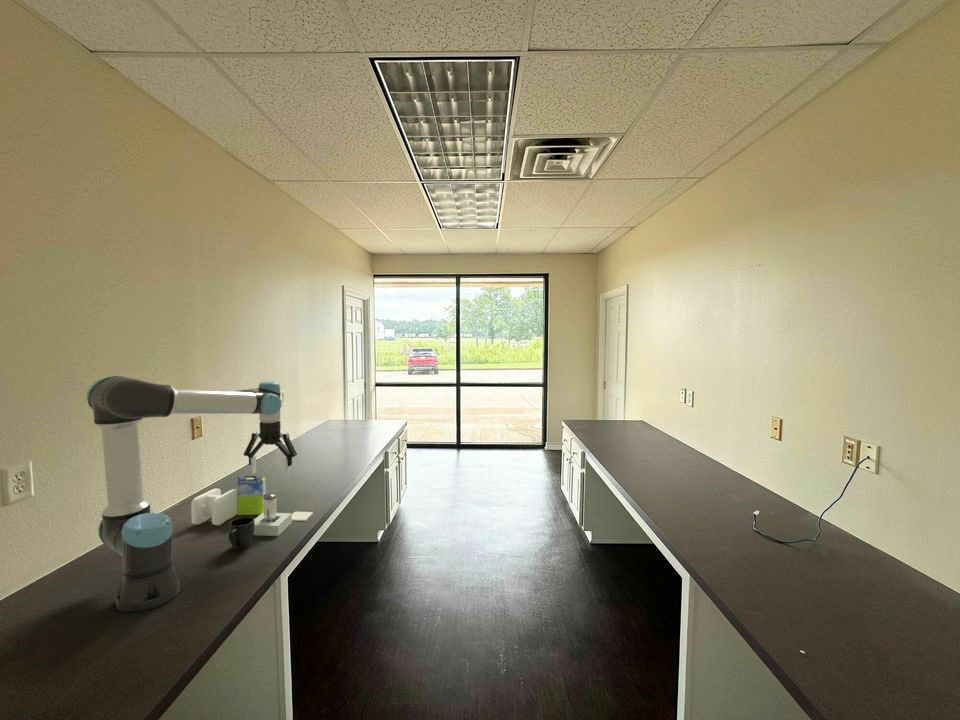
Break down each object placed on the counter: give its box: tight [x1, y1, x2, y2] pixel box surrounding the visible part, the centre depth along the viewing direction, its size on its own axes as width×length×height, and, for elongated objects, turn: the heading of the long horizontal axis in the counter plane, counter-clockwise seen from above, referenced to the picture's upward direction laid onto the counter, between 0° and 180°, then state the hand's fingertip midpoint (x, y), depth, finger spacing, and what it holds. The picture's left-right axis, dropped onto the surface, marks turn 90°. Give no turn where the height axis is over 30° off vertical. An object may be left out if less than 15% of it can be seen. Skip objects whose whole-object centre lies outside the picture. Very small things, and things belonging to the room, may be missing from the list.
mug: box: [228, 516, 255, 551], centre depth 161 cm, size 8×12×10 cm
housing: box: [253, 512, 293, 537], centre depth 178 cm, size 12×12×4 cm
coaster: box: [292, 511, 314, 522], centre depth 190 cm, size 8×8×1 cm
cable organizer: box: [190, 488, 238, 526], centre depth 184 cm, size 15×11×12 cm
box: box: [237, 475, 267, 516], centre depth 192 cm, size 10×4×17 cm, turn 97°
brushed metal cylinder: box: [263, 492, 278, 522], centre depth 177 cm, size 5×5×14 cm
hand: (270, 473), depth 177 cm, fingers open, 13 cm apart
